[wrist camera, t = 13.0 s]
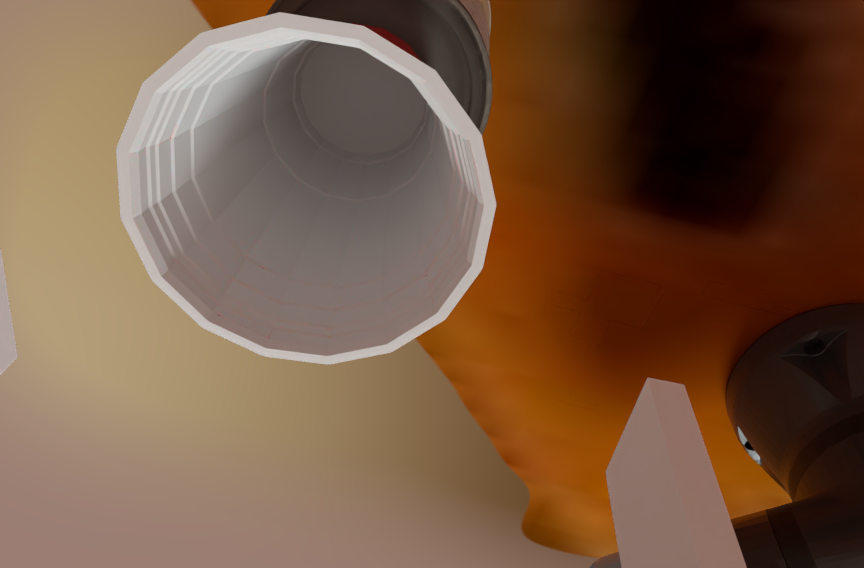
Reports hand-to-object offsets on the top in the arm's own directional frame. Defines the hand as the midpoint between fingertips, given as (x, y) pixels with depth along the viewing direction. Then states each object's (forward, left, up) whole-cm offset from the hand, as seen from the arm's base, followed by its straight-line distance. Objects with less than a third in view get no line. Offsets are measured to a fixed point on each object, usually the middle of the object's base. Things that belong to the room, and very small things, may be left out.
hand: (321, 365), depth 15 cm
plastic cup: (0, +2, -19) cm, 19 cm away
